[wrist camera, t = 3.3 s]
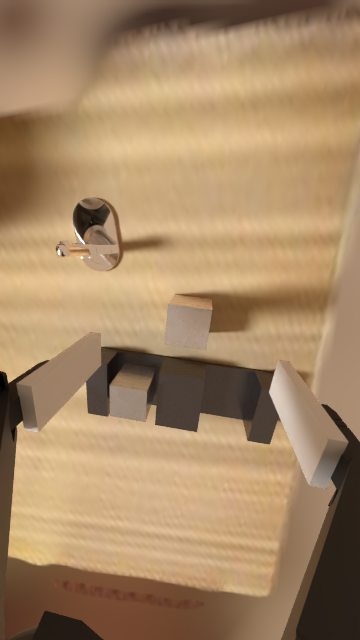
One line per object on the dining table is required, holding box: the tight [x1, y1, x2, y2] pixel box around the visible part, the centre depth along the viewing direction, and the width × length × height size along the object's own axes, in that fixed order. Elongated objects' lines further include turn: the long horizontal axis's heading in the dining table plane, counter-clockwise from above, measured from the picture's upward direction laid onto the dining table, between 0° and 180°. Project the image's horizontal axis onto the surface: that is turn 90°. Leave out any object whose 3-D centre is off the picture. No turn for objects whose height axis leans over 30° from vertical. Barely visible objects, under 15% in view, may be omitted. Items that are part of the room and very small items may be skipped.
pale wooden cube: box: [165, 294, 212, 350], centre depth 24 cm, size 4×4×5 cm
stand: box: [56, 198, 120, 271], centre depth 21 cm, size 8×5×8 cm
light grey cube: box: [110, 364, 157, 422], centre depth 28 cm, size 4×4×5 cm
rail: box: [86, 347, 279, 444], centre depth 28 cm, size 8×24×4 cm, turn 84°
